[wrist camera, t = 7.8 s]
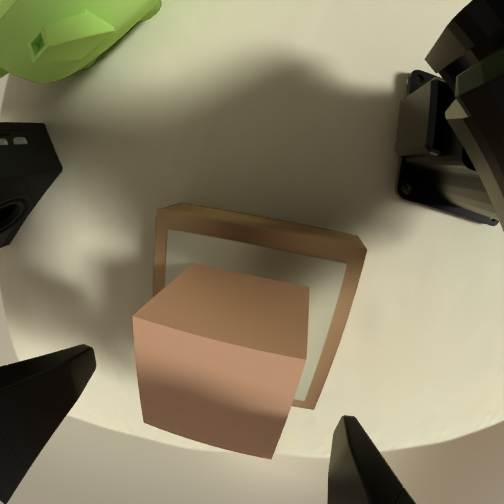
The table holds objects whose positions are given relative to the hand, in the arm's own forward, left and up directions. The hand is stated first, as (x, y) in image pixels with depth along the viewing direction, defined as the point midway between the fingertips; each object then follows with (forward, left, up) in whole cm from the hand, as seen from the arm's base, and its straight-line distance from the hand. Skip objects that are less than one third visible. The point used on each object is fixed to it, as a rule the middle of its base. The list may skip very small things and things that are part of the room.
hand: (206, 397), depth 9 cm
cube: (0, 0, -5) cm, 5 cm away
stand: (0, 0, -7) cm, 7 cm away
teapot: (+12, -17, -8) cm, 22 cm away
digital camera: (+18, -4, -8) cm, 20 cm away
